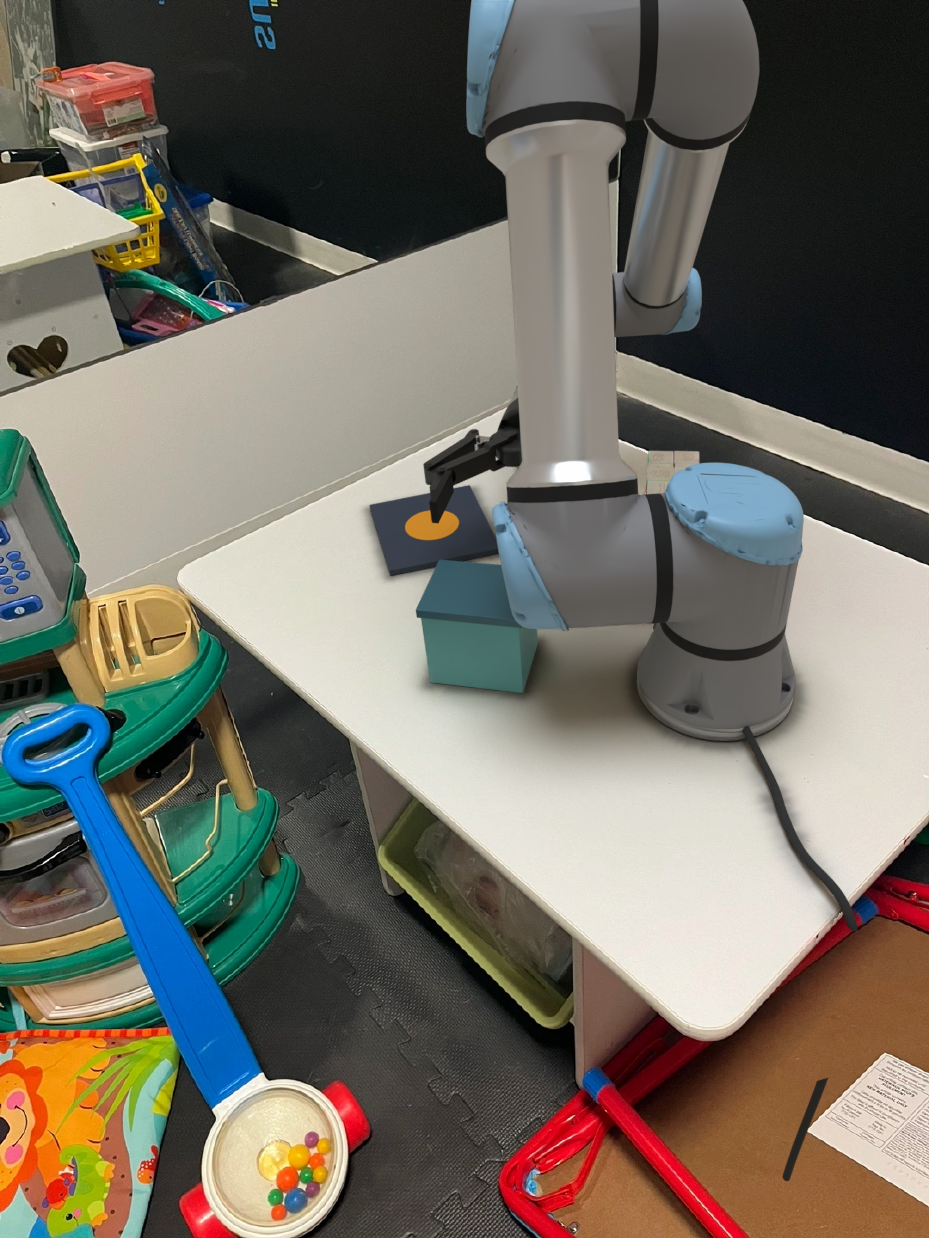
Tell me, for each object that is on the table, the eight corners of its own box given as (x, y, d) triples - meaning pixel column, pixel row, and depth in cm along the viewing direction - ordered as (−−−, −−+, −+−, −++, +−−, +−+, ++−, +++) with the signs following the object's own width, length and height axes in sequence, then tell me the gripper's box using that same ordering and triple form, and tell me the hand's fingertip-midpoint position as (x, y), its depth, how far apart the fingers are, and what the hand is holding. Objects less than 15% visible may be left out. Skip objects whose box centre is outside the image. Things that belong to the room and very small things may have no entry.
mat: (501, 553, 113) (500, 547, 113) (390, 576, 112) (389, 570, 111) (470, 489, 126) (469, 484, 125) (370, 509, 124) (369, 504, 123)
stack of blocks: (645, 513, 118) (649, 427, 110) (695, 515, 116) (703, 428, 109) (637, 618, 101) (641, 525, 94) (695, 622, 100) (704, 528, 92)
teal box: (447, 632, 102) (438, 559, 96) (541, 641, 100) (538, 567, 94) (426, 684, 96) (415, 610, 90) (525, 695, 93) (521, 620, 87)
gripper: (636, 454, 111) (613, 555, 96) (439, 443, 117) (388, 537, 102) (638, 397, 107) (615, 494, 91) (433, 389, 113) (378, 479, 97)
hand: (495, 517), depth 96 cm, fingers open, 13 cm apart
